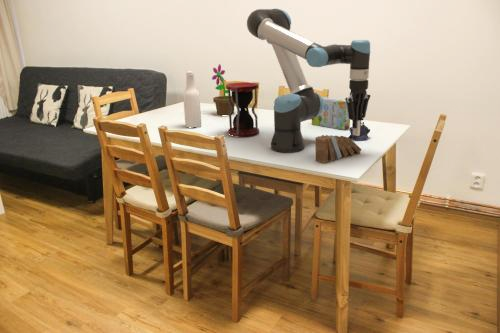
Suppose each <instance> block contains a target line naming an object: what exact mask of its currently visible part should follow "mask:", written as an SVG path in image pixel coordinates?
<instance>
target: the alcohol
mask: <svg viewBox="0 0 500 333" xmlns="http://www.w3.org/2000/svg"><path fill="white" fill-rule="evenodd" d="M185 76H186V80H185V81H186V82H185V83H186V84H185V86H186V88H185V89H184V91H183V94H182V95H183V96H182V98H183V110H184V123H185V127H186V128H187V127H191V128H190V129H193V128H192V127H199V128H201V127H200V126H202V111H201V110H202V109H201V99H200V98H201V97H200V95H201V94H200V92H199V90H197V89H198V88H196V83H195V77H194V76H195V75H194V71H193V70H187V71H186V72H185Z"/></svg>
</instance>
